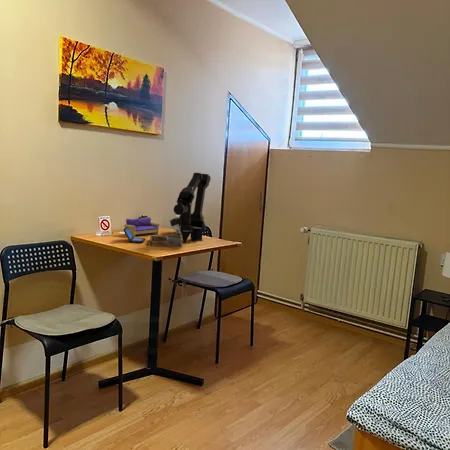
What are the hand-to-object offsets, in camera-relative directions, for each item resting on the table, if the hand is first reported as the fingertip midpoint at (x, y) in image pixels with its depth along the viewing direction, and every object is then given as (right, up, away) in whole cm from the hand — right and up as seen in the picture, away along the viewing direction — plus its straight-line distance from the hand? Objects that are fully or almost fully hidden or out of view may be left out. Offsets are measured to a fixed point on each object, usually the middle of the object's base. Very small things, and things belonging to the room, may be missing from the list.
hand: (184, 241), depth 254 cm
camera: (-6, +3, +36) cm, 37 cm away
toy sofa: (-28, +3, +22) cm, 35 cm away
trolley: (-6, -1, -1) cm, 6 cm away
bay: (-13, -1, -2) cm, 13 cm away
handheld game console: (-28, 0, -1) cm, 28 cm away
